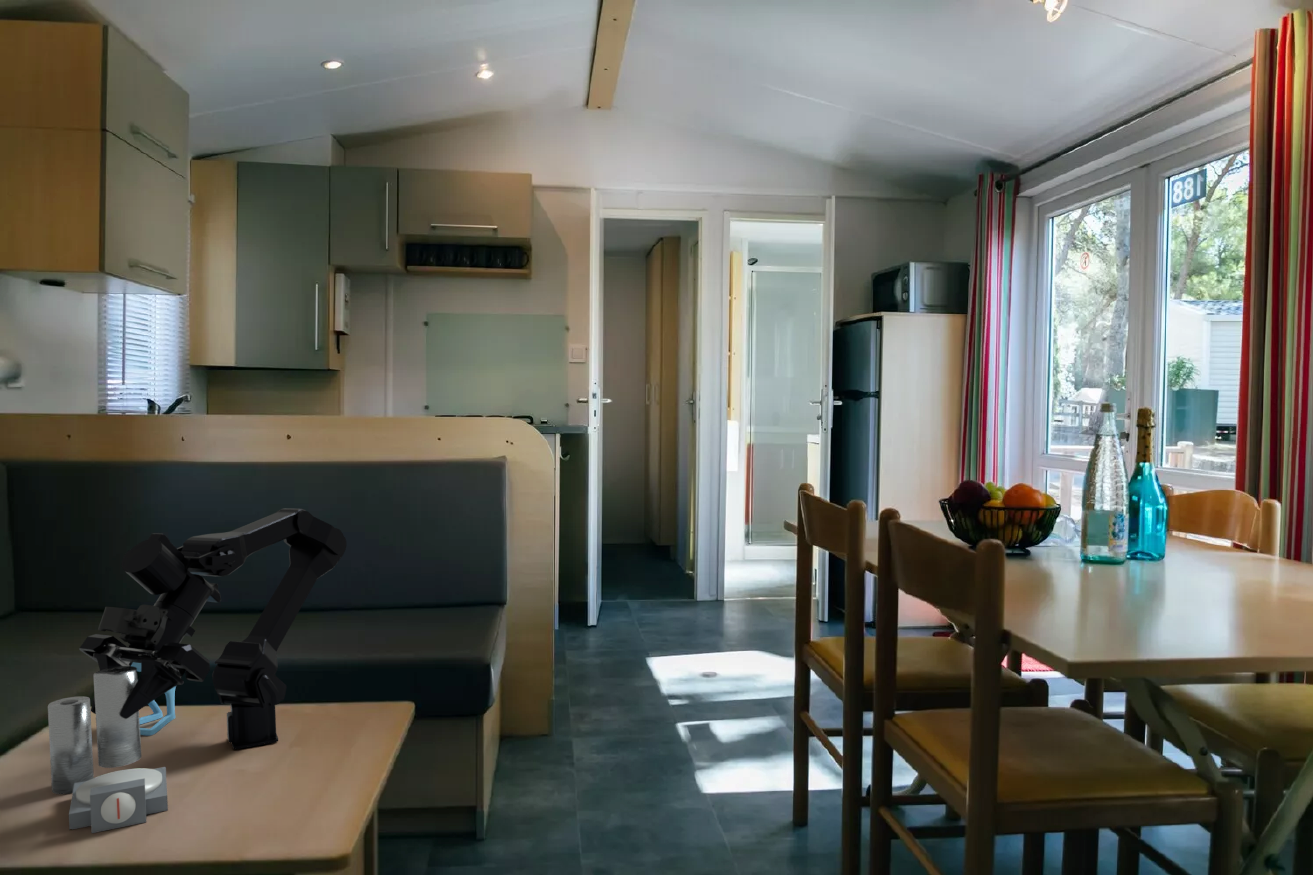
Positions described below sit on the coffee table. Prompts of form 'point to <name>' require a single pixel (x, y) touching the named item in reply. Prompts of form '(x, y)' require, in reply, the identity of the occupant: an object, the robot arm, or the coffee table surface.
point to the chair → (158, 711)
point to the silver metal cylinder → (116, 717)
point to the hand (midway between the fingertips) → (108, 714)
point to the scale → (118, 799)
